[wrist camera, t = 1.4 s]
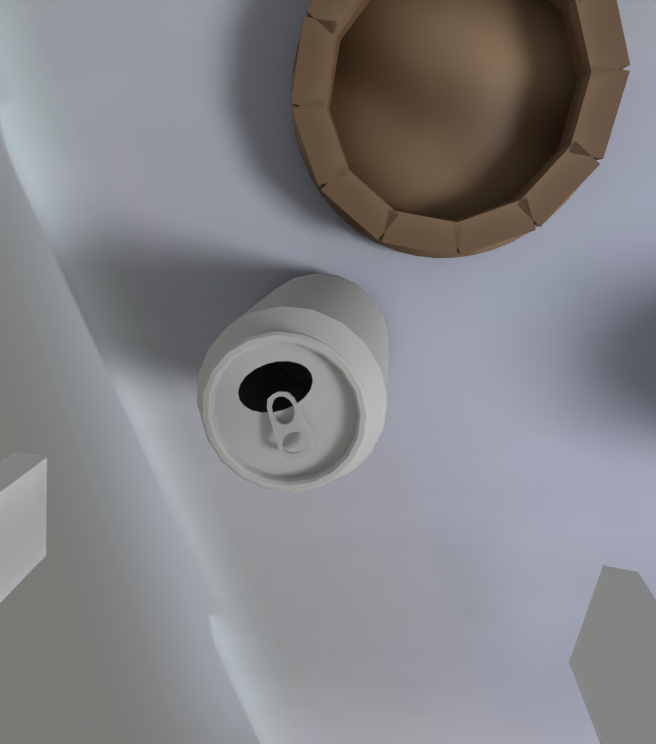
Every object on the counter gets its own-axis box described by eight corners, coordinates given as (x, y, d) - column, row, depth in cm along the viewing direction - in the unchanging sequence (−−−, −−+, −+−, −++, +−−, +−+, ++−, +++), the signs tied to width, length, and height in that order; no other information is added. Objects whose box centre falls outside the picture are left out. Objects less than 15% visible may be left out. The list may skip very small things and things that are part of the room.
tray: (322, -110, 26) (313, -147, 23) (658, -58, 25) (691, -90, 22) (274, 227, 31) (262, 230, 28) (557, 280, 30) (574, 289, 27)
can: (361, 250, 31) (340, 283, 19) (408, 377, 32) (416, 477, 21) (234, 299, 32) (146, 357, 21) (286, 418, 34) (231, 532, 22)
